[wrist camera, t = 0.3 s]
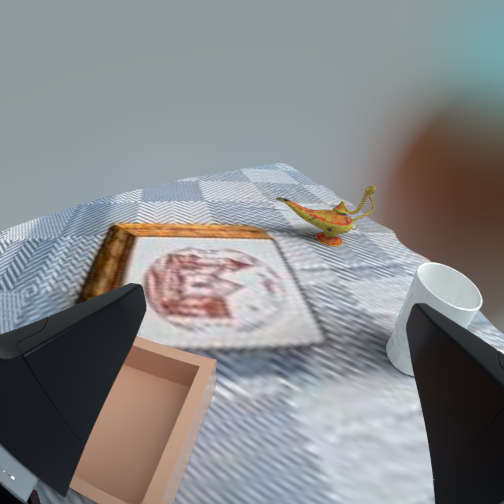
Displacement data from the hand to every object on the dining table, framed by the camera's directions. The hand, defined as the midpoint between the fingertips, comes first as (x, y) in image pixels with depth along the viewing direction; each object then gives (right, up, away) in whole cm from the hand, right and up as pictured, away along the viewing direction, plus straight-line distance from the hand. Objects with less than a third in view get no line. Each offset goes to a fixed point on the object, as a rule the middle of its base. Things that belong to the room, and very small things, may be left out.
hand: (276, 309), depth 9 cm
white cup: (+17, -10, +19) cm, 27 cm away
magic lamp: (+11, +4, +42) cm, 43 cm away
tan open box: (-12, -12, +9) cm, 19 cm away
